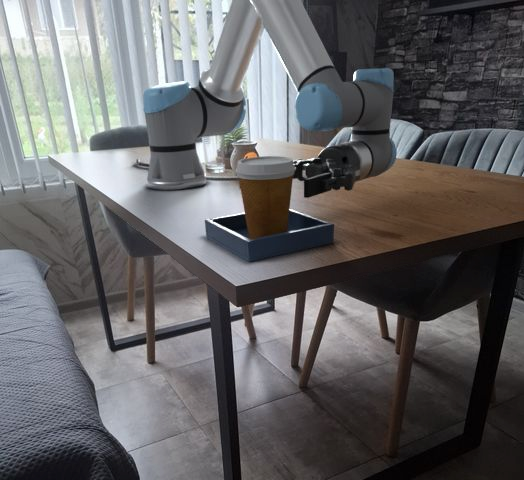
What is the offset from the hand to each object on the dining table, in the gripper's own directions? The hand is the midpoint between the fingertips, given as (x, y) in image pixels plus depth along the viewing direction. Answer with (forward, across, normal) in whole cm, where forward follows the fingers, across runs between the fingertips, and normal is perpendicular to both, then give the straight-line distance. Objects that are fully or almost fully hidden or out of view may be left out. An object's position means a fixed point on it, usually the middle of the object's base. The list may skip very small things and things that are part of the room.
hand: (271, 184), depth 78 cm
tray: (+2, 0, -9) cm, 9 cm away
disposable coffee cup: (+2, 0, -8) cm, 8 cm away
